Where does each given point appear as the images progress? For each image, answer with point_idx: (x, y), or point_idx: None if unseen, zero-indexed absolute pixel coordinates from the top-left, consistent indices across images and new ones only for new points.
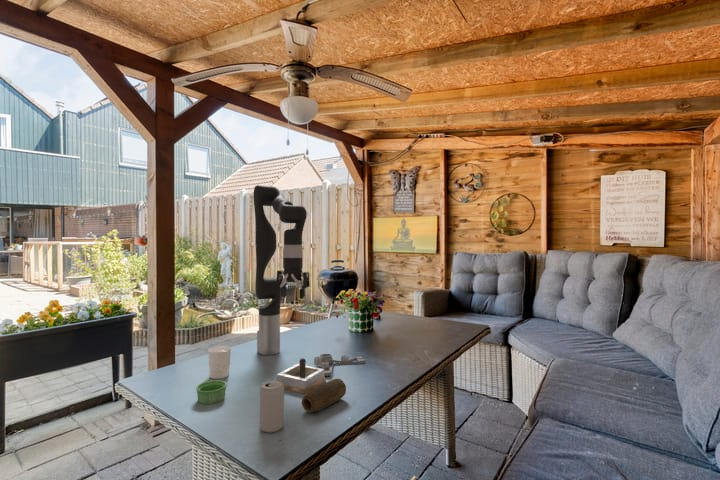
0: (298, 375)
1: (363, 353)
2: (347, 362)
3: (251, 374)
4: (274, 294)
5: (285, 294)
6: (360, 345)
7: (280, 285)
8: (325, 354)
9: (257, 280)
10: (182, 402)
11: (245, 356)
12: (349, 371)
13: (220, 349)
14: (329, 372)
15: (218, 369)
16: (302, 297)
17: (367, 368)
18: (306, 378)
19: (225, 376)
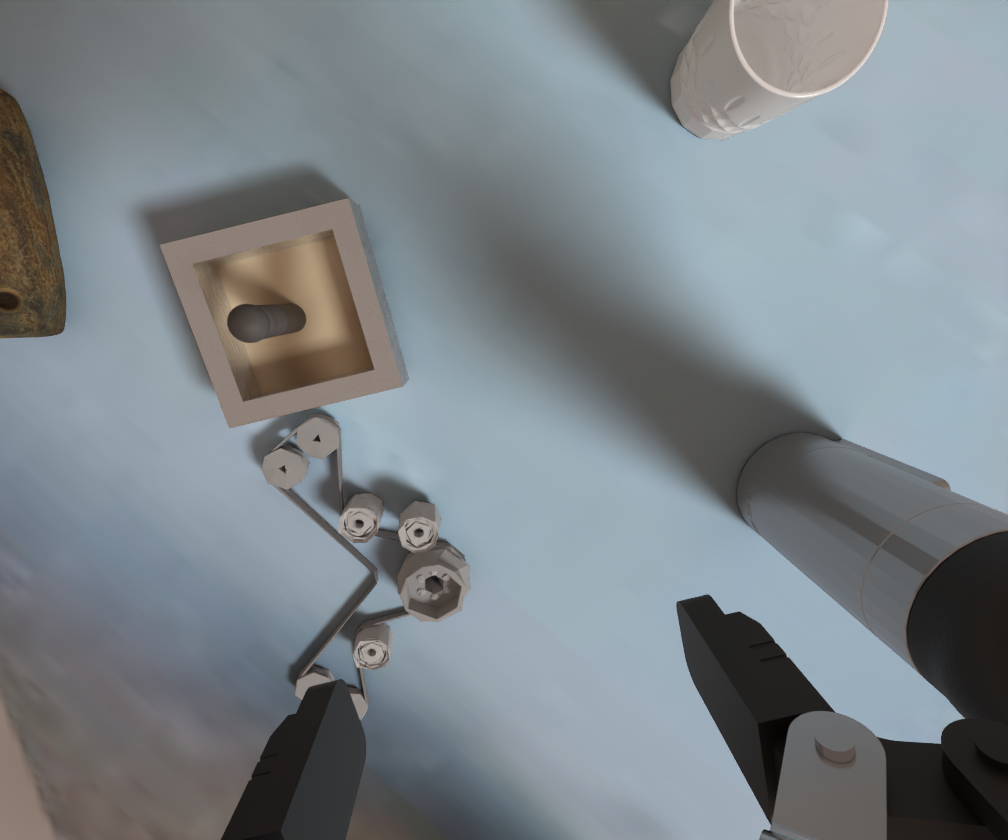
0: (361, 348)
1: (397, 766)
2: (339, 628)
3: (595, 219)
4: None
5: (698, 676)
6: (493, 832)
7: (868, 748)
8: (455, 606)
9: None
10: None
11: (845, 358)
12: (264, 567)
13: (845, 65)
14: (263, 466)
15: (699, 23)
16: (290, 719)
17: (234, 644)
18: (181, 272)
19: (671, 92)
